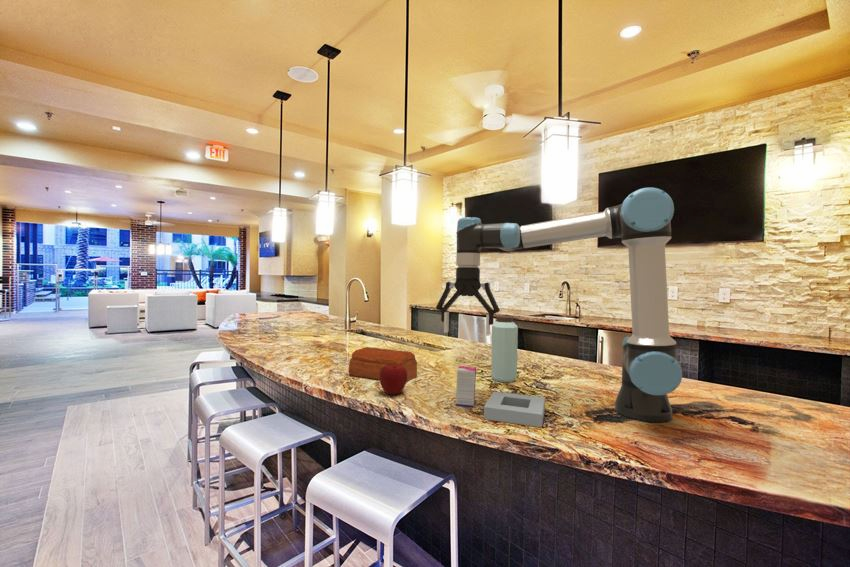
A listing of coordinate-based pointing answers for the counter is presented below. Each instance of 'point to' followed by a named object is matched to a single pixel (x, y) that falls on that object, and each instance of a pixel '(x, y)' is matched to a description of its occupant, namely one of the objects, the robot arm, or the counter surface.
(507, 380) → the water bottle
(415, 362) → the bread
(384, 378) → the apple
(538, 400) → the socket block
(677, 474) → the counter surface
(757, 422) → the counter surface
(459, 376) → the supplement box
